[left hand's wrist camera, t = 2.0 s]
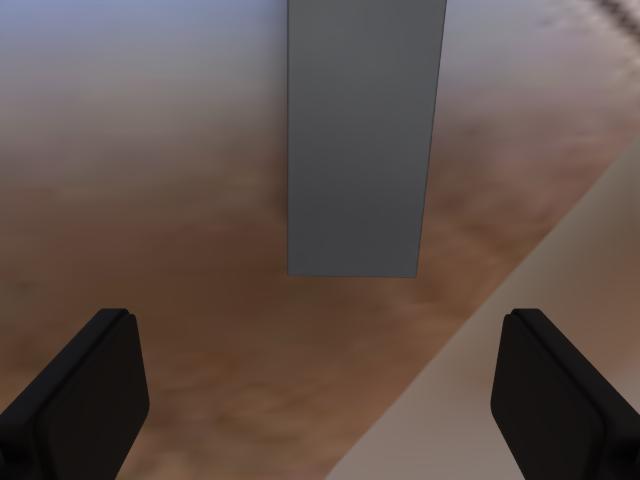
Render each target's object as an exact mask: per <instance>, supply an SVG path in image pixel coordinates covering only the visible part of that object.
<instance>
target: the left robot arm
mask: <svg viewBox="0 0 640 480" xmlns="http://www.w3.org/2000/svg"><path fill="white" fill-rule="evenodd" d="M148 412H149V395H148V389H147V383H146V377H145V370H144V364H143V358H142V352H141V346H140V339H139V333H138V327H137V321H136V317H135V315H133V314H129V312H128V310H127V309H101V310H99V311H98V312H97V314H96V315H95V316H94V317H93V318H92V319H91V320H90V321H89V322H88V323H87V324H86V325H85V326H84V327H83V328H82V329H81V330H80V331H79V333H78V334H77V335H76V336H75V337H74V338H73V339H72V340H71V341H70V342H69V343H68V344H67V345H66V346H65V347H64V348H63V349H62V350H61V352H60V353H59V354H58V355H57V356H56V357H55V358H54V359H53V360H52V361H51V362H50V363H49V364H48V365H47V366H46V367H45V368H44V369H43V371H42V372H41V373H40V374H39V375H38V376H37V377H36V378H35V379H34V380H33V381H32V382H31V383H30V384H29V385H28V386H27V387H26V388H25V390H24V391H23V392H22V393H21V394H20V395H19V396H18V397H17V398H16V399H15V400H14V401H13V402H12V403H11V404H10V405H9V406H8V407H7V408H6V410H5V411H4V412H3V413H2V414H1V415H0V480H115V478H116V476H117V474H118V472H119V470H120V468H121V466H122V464H123V462H124V460H125V458H126V456H127V455H128V453H129V451H130V449H131V447H132V445H133V443H134V441H135V439H136V437H137V435H138V433H139V431H140V429H141V427H142V425H143V423H144V421H145V419H146V417H147V415H148ZM491 412H492V415H493V417H494V419H495V421H496V423H497V425H498V427H499V429H500V431H501V433H502V435H503V437H504V439H505V441H506V443H507V445H508V447H509V449H510V451H511V453H512V454H513V456H514V458H515V460H516V462H517V464H518V466H519V468H520V470H521V472H522V474H523V476H524V478H525V480H640V415H639V414H638V413H637V412H636V411H635V410H634V409H633V407H632V406H631V405H630V404H629V403H628V402H627V401H626V400H625V399H624V398H623V397H622V396H621V395H620V394H619V393H618V392H617V391H616V390H615V388H614V387H613V386H612V385H611V384H610V383H609V382H608V381H607V380H606V379H605V378H604V377H603V376H602V375H601V374H600V373H599V372H598V371H597V369H596V368H595V367H594V366H593V365H592V364H591V363H590V362H589V361H588V360H587V359H586V358H585V357H584V356H583V355H582V354H581V353H580V352H579V350H578V349H577V348H576V347H575V346H574V345H573V344H572V343H571V342H570V341H569V340H568V339H567V338H566V337H565V336H564V335H563V334H562V333H561V331H560V330H559V329H558V328H557V327H556V326H555V325H554V324H553V323H552V322H551V321H550V320H549V319H548V318H547V317H546V316H545V315H544V314H543V313H542V311H541V310H539V309H513V310H512V312H511V314H507V315H505V317H504V321H503V327H502V333H501V339H500V346H499V352H498V358H497V364H496V370H495V377H494V383H493V389H492V395H491Z"/></svg>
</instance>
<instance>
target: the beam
mask: <svg viewBox="0 0 640 480" xmlns="http://www.w3.org/2000/svg"><path fill="white" fill-rule="evenodd" d="M446 3H447V0H287V274H288V275H289V276H337V277H397V278H416V275H417V266H418V257H419V248H420V239H421V230H422V221H423V212H424V203H425V194H426V185H427V176H428V166H429V157H430V148H431V139H432V130H433V121H434V112H435V103H436V94H437V85H438V76H439V67H440V58H441V49H442V40H443V30H444V21H445V12H446Z"/></svg>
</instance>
